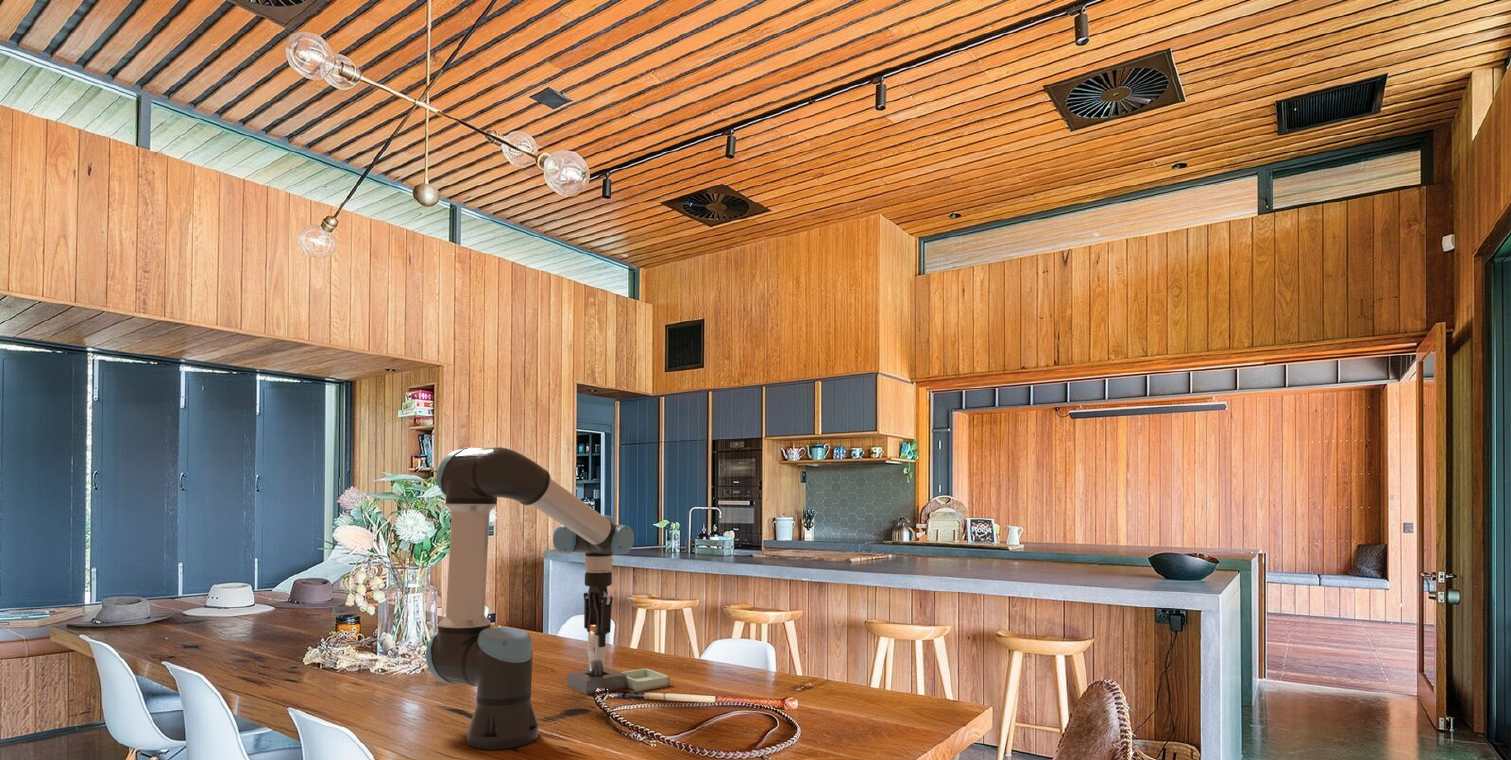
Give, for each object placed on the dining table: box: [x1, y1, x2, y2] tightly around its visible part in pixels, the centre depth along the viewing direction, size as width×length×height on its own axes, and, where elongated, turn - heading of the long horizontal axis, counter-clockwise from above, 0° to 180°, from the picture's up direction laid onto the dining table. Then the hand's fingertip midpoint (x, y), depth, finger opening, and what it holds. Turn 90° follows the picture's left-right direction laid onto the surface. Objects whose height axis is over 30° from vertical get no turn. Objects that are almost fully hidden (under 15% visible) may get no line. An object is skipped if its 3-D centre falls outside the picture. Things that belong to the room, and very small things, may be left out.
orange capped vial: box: [588, 624, 605, 675], centre depth 234 cm, size 4×4×13 cm
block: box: [566, 666, 628, 695], centre depth 234 cm, size 12×12×4 cm
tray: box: [621, 668, 671, 692], centre depth 236 cm, size 10×13×2 cm
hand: (596, 657), depth 234 cm, fingers closed on orange capped vial, 4 cm apart
